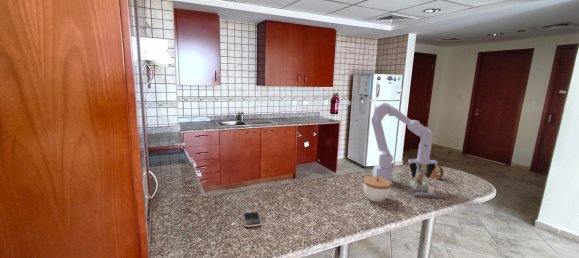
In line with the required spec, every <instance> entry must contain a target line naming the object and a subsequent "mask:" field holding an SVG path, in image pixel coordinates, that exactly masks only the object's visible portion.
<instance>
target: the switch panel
mask: <svg viewBox="0 0 579 258" xmlns="http://www.w3.org/2000/svg"><path fill="white" fill-rule="evenodd" d="M407 192H408V193H409V194H410V195H412V196H413V197H414V198H430V199H431V198H432V199H433V198H435V199H437V198H438V199H439V195H438V194H437V192H434V193H428V192H427V189H414V188H407Z"/></svg>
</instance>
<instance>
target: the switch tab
mask: <svg viewBox="0 0 579 258" xmlns="http://www.w3.org/2000/svg"><path fill="white" fill-rule="evenodd" d="M434 191H435V187H433V186H432V185H428V189H427V192H428V193H435V192H434Z"/></svg>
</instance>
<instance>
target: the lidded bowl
mask: <svg viewBox="0 0 579 258" xmlns="http://www.w3.org/2000/svg"><path fill="white" fill-rule="evenodd" d="M391 182H392V181H391ZM391 182H390V181H389V180H387V179H385V178H382V177H376V176H373V175H371V176H366V177H364V178H363V192H364V194H365V196H366V197H367V199H368V200H370V201H371V202H375V203H381V202H384V200H386V199H387V198H388V197H389V195H390V193H391V189H392V184H391Z"/></svg>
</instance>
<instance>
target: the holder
mask: <svg viewBox="0 0 579 258" xmlns="http://www.w3.org/2000/svg"><path fill="white" fill-rule="evenodd" d="M410 186H411V188H412V189H428V186H429V185H428V184H426V183H425V182H424V181H423V183H422V185H417V184H416V180H411V181H410Z"/></svg>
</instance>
